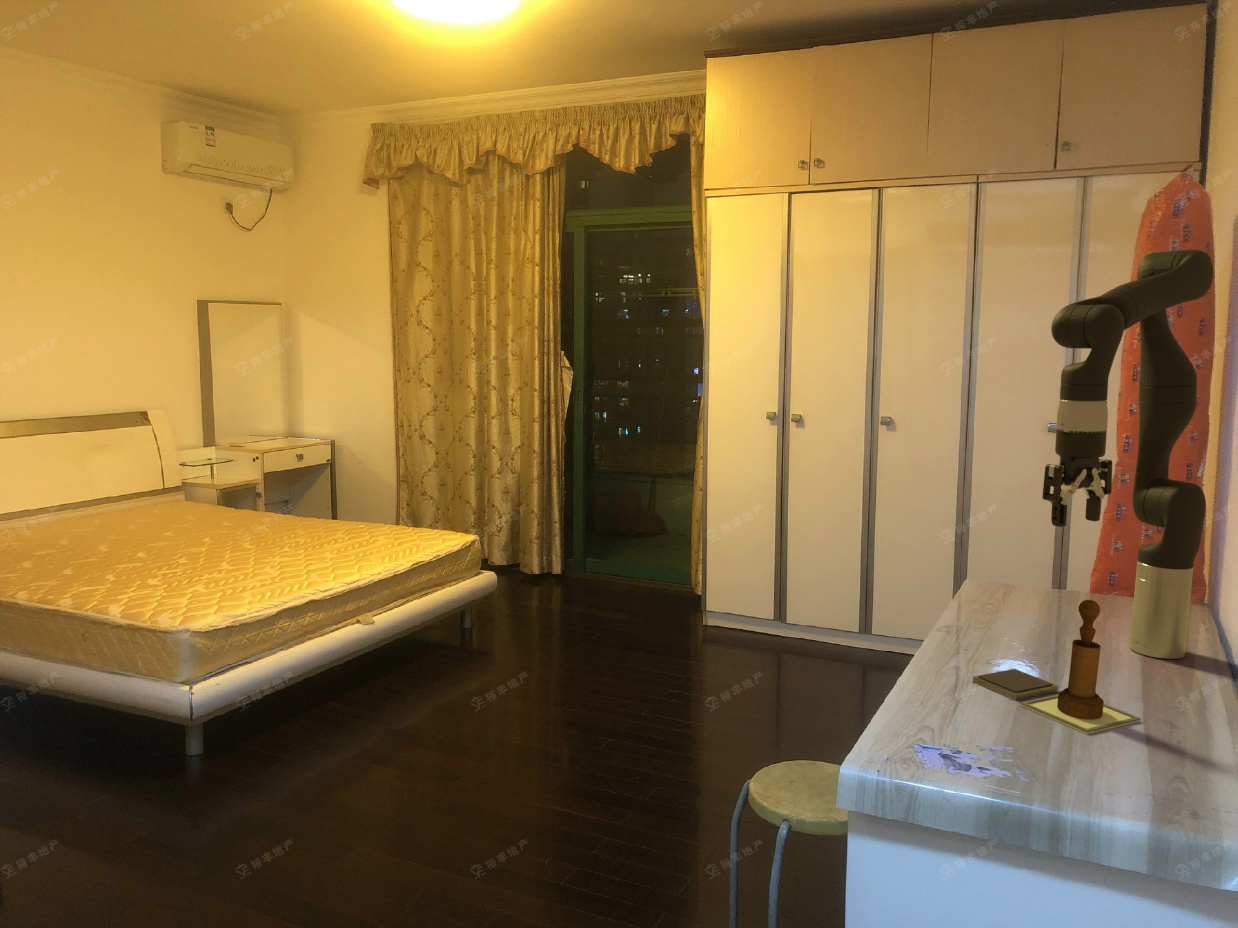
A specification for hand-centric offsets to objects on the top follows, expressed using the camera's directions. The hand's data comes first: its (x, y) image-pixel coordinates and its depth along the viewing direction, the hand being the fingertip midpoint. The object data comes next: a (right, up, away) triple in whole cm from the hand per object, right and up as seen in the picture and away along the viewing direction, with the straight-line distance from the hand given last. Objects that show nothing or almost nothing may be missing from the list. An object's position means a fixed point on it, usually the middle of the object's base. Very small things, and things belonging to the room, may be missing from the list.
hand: (1075, 523), depth 157 cm
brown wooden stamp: (-4, -29, -9) cm, 31 cm away
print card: (-4, -30, -9) cm, 31 cm away
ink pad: (-9, -28, +2) cm, 30 cm away
